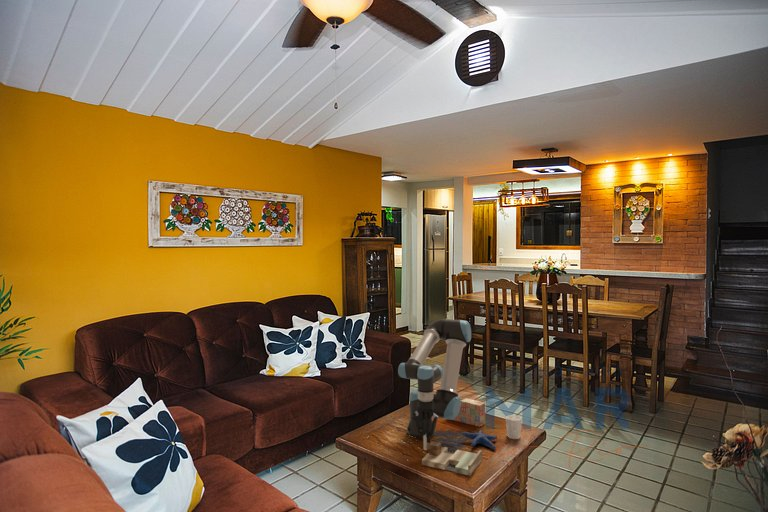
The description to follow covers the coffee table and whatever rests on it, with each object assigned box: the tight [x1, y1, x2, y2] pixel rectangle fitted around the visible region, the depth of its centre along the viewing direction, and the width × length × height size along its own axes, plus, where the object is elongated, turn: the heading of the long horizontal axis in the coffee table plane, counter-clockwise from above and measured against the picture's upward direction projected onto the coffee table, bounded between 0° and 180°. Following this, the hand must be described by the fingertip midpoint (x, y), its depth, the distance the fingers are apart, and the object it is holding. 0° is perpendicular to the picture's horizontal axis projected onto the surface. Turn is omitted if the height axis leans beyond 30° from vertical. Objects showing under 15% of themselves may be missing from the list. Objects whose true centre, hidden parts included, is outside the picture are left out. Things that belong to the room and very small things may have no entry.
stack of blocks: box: [452, 397, 486, 428], centre depth 263 cm, size 21×6×12 cm, turn 50°
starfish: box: [462, 429, 498, 451], centre depth 232 cm, size 19×19×5 cm
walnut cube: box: [428, 440, 442, 456], centre depth 217 cm, size 4×4×4 cm
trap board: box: [421, 445, 483, 477], centre depth 212 cm, size 23×17×4 cm
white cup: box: [505, 414, 522, 440], centre depth 240 cm, size 8×8×10 cm
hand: (426, 448), depth 219 cm, fingers closed
